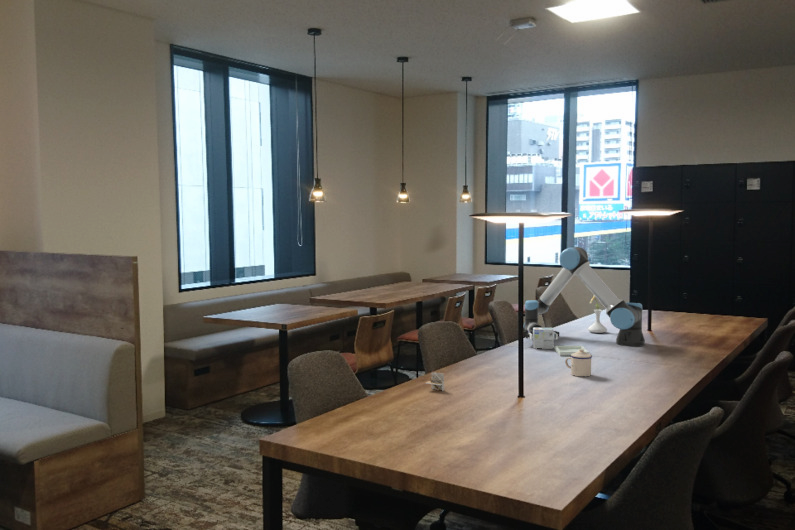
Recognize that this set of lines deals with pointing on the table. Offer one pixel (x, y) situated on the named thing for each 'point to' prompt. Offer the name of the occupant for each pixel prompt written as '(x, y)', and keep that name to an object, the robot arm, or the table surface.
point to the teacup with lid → (580, 363)
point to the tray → (568, 350)
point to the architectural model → (437, 381)
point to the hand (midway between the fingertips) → (544, 336)
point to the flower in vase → (597, 321)
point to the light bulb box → (543, 338)
